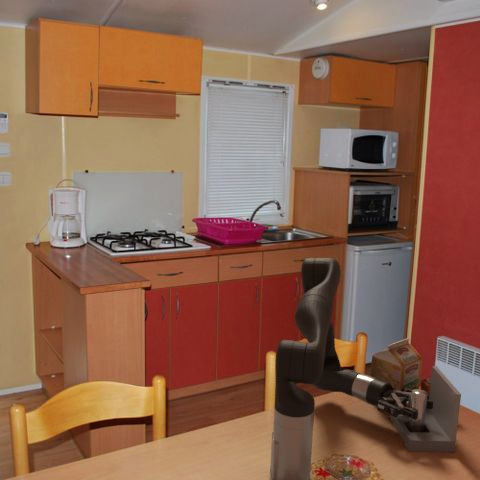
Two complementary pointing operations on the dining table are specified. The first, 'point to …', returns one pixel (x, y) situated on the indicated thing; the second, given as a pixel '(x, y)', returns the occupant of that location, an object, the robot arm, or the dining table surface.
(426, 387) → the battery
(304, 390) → the robot arm
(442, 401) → the grey l-shaped stand
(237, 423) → the dining table surface
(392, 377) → the milk carton
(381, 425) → the dining table surface
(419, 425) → the rod
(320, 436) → the dining table surface
